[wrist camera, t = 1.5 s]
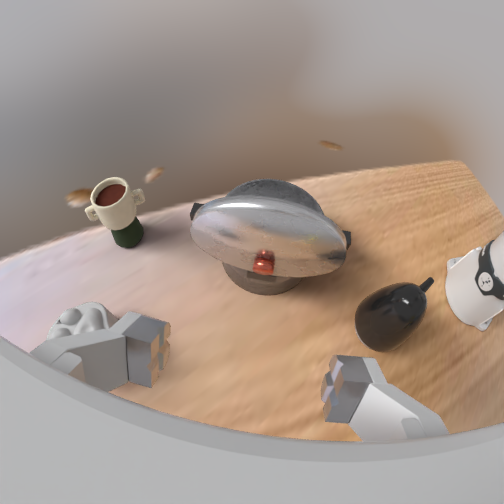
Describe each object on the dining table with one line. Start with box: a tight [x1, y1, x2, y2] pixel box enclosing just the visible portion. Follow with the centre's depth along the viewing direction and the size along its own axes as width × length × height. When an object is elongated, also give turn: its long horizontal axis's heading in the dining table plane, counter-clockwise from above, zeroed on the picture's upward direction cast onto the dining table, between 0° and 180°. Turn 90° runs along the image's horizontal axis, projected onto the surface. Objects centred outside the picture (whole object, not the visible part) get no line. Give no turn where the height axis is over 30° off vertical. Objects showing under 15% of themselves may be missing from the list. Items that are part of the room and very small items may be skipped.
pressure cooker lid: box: [190, 195, 346, 277], centre depth 30 cm, size 16×16×3 cm
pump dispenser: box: [355, 277, 434, 352], centre depth 40 cm, size 10×10×15 cm
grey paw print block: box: [46, 302, 119, 340], centre depth 38 cm, size 10×13×9 cm
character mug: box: [85, 177, 145, 248], centre depth 48 cm, size 11×7×13 cm, turn 114°
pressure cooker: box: [190, 179, 351, 295], centre depth 48 cm, size 18×26×11 cm
